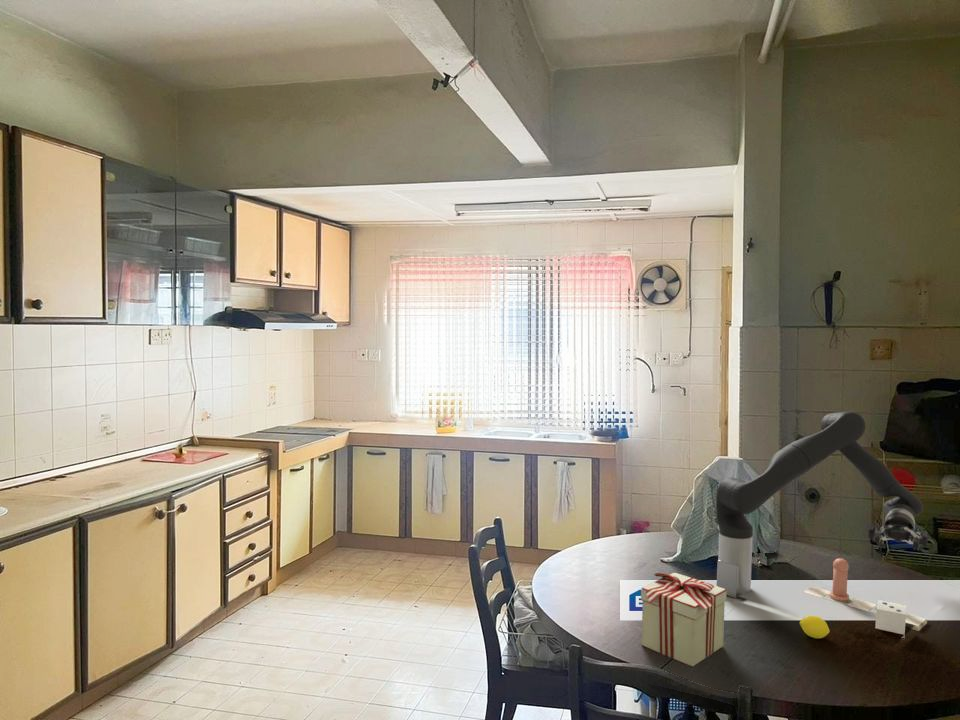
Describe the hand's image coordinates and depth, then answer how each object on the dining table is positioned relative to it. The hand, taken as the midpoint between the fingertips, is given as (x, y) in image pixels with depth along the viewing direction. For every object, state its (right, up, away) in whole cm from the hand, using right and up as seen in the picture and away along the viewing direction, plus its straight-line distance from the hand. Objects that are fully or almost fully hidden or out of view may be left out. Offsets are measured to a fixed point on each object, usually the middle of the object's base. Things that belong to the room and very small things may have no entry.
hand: (896, 543), depth 193 cm
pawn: (-10, -18, +10) cm, 23 cm away
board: (-6, -20, +6) cm, 21 cm away
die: (-6, -21, -8) cm, 23 cm away
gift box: (-63, -21, -18) cm, 69 cm away
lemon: (-27, -21, -11) cm, 36 cm away
